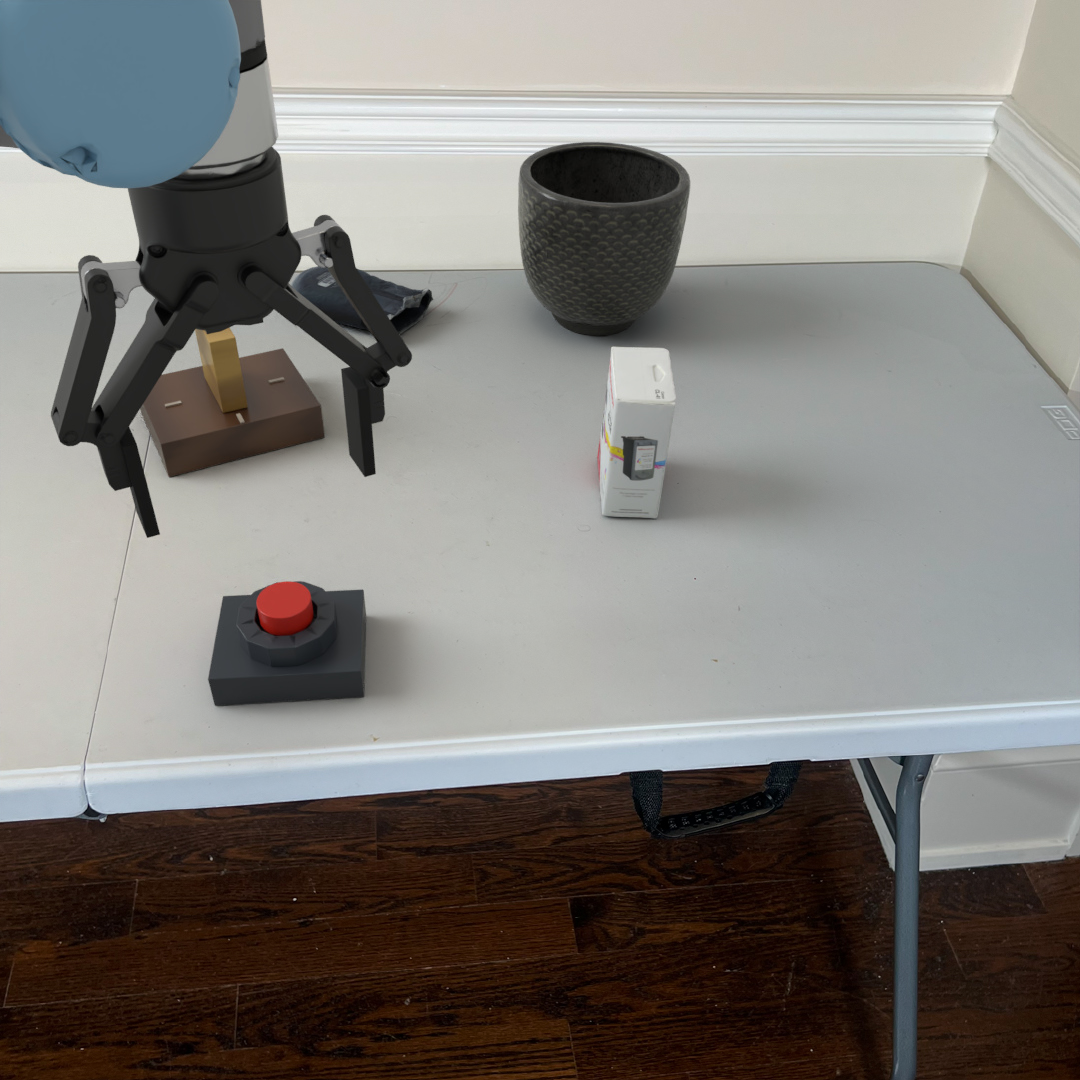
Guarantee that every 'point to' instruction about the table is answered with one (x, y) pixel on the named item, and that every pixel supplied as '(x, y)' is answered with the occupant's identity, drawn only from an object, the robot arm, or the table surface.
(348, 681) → the grey square base
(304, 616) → the button
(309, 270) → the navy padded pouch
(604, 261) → the planter
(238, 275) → the robot arm
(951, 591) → the table surface
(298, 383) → the plate
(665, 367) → the ink box
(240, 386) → the thumb turn
